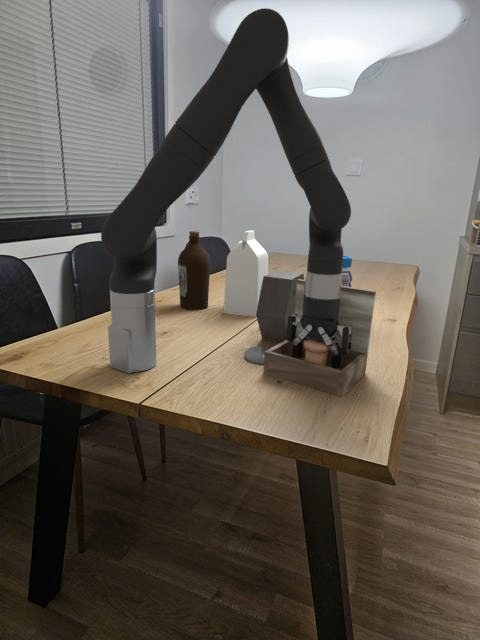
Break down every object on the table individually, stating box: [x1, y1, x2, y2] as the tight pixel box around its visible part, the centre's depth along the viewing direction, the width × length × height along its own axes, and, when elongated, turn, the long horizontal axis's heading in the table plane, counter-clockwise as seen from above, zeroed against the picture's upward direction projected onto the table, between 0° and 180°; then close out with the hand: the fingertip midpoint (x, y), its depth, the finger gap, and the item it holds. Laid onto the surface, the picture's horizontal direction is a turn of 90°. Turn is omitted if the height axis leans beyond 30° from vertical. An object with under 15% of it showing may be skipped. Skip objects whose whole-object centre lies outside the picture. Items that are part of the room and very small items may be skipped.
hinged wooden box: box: [262, 279, 377, 398], centre depth 90 cm, size 14×18×19 cm
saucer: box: [243, 346, 271, 365], centre depth 101 cm, size 9×9×1 cm
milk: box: [223, 230, 269, 318], centre depth 137 cm, size 12×12×26 cm
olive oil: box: [177, 230, 211, 311], centre depth 139 cm, size 11×11×25 cm
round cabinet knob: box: [304, 338, 331, 367], centre depth 92 cm, size 6×6×8 cm
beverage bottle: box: [341, 254, 353, 287], centre depth 131 cm, size 8×8×20 cm
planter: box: [255, 270, 305, 343], centre depth 114 cm, size 17×8×21 cm
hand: (315, 365), depth 92 cm, fingers open, 8 cm apart
